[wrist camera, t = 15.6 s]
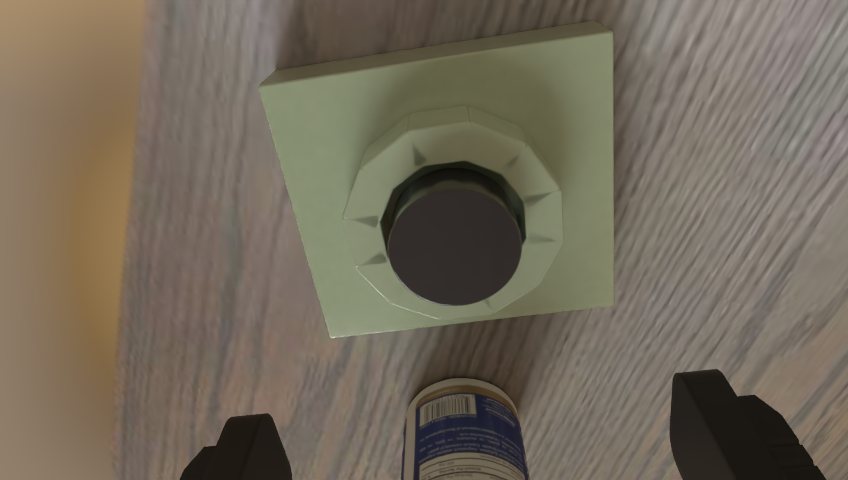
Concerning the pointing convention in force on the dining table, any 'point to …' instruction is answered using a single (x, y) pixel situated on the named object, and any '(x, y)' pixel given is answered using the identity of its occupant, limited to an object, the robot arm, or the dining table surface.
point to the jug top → (453, 166)
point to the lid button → (454, 237)
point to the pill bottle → (463, 434)
